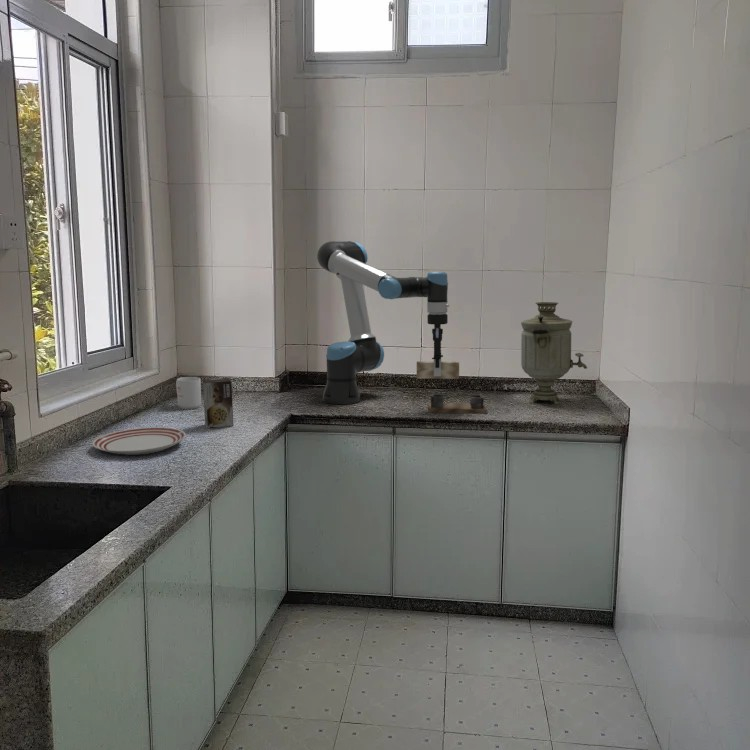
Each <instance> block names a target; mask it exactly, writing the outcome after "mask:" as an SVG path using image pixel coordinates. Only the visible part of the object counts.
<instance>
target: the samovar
mask: <svg viewBox="0 0 750 750" xmlns="http://www.w3.org/2000/svg"><path fill="white" fill-rule="evenodd" d="M535 304H536V305H537V311H538V312H539V314H536V315H535V316H534V317H533V318H530V319H525V320H522V321H521V322H520V324H521V327H522V331H521V341H520V342H521V346H520V347H521V349H520V351H521V357H520V359H521V361H520V362H521V364H520V365H521V368H522V370H523V372H524V373H525V374H527V375H528V376H529V377H530V378H531V379H534V380H535V381H536V383H535V385H536V386H538V388H537V389H535V390H534V391H533V392H531V395H530V397H529V398H530V399H531V400H529V401H528V403H529V404H534V403H535V402H536V401H538V400H540V401H550V402H552V403H553V405H554V406H555V405H556V406H559V405H560V404H559V402H558V400H560V398H559V395H558V393H557V392H555V390H553V389H552V387H553V386H554V385H555V380H558V379H561V378H562V377H563V376H564V375H567V373H569V371H570V369H573V368H574V366H577V367H578V368H583V369H584V370H587V369H588V366H587V365H586V364H585V363H584V362H583V361H582V360H581V358H582V357H584V354H583V353H580V352H577V353H575V354H574V355H575V357H578V361H577V362H574V360H573V359H572V331H571V327H572V324H573V320H570V319H568V318H567V319H566V318H563V317H560V315H557V314H555V312H556V310H557V309H556V307H557V305H558V304H559V302H556V301H555V302H553V301H539V302H537V301H536V302H535Z"/></svg>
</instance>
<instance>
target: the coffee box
mask: <svg viewBox="0 0 750 750" xmlns="http://www.w3.org/2000/svg"><path fill="white" fill-rule="evenodd" d="M202 383H203V384H202V385H203V386H202V388H203V391H202V392H203V405H204V406H203V409H204V425H205V427H206V426H207V427H206V428H207V429H210V428H209V427H217V428H224V427H234V410H233V409H234V408H233V403H234V402H233V386H232V380H231V379H230V378H229V377H222V378H221V377H220V378H219V377H218V378H205V379H203V380H202Z"/></svg>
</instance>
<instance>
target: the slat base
mask: <svg viewBox="0 0 750 750" xmlns="http://www.w3.org/2000/svg"><path fill="white" fill-rule="evenodd" d="M430 394H431V395H430V396H431V397H430V398H431V399H430V402H428V403H427V413H446V414H451V413H453V414H481V415H482V414H487V411H488V409H487V406H486V404H485V403H484V395H483V394H470V401H469V402H470V403H462V402H461V403H459V402H458V403H457V402H456V403H454V402H453V403H452V402H451V403H450V402H444V393H430Z"/></svg>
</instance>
